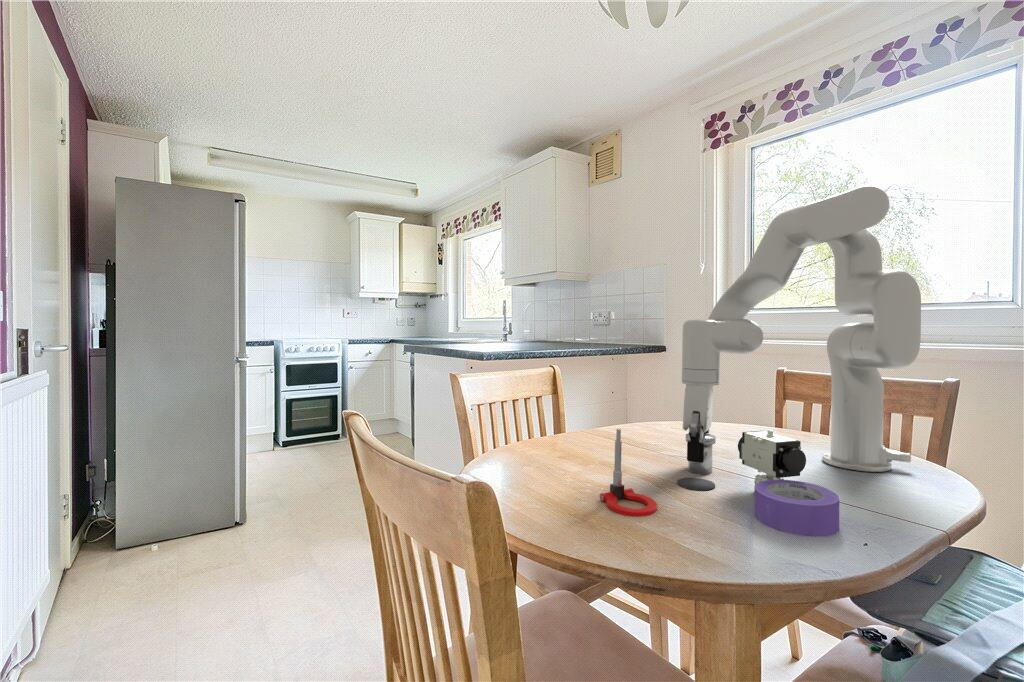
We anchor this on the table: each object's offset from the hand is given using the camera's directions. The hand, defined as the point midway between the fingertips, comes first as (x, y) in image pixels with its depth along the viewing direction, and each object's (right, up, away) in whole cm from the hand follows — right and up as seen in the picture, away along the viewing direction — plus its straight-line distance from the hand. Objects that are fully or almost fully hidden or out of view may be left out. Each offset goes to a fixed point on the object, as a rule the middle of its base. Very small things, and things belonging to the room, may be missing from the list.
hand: (698, 456), depth 103 cm
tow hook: (-20, -4, -20) cm, 28 cm away
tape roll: (+5, -4, -26) cm, 27 cm away
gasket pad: (-4, -4, -9) cm, 10 cm away
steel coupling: (0, -3, 0) cm, 3 cm away
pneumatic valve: (+7, -4, -15) cm, 17 cm away
